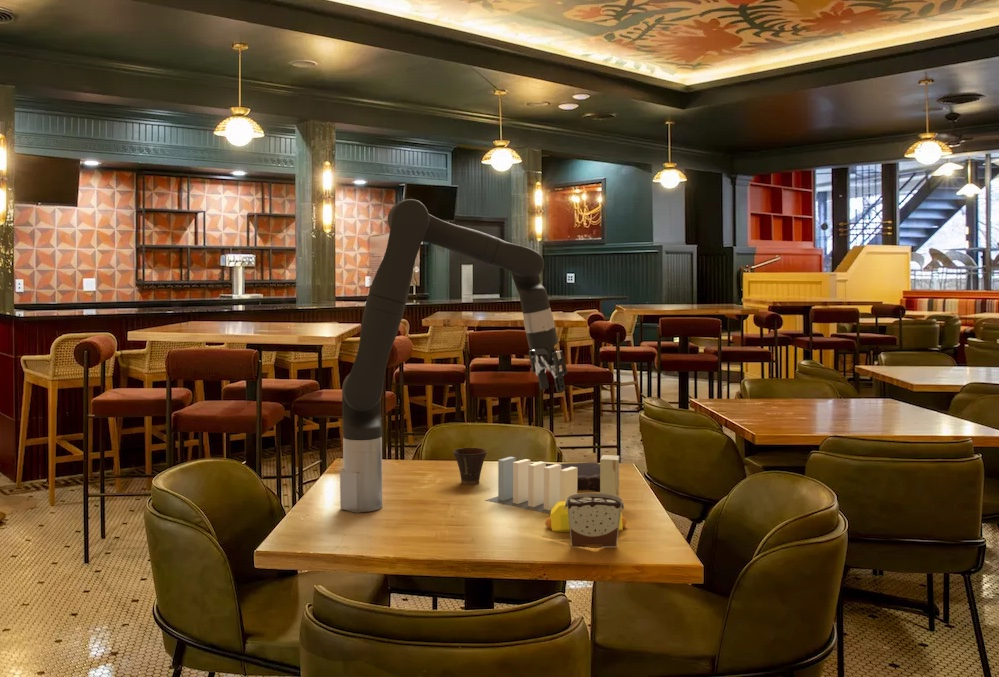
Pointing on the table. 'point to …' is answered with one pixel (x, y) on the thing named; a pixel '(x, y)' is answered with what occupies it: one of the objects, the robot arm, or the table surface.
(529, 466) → the domino
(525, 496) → the domino
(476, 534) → the table surface
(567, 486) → the domino
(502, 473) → the domino
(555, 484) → the domino
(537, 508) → the mat
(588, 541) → the food container
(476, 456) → the cup
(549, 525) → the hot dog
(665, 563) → the table surface
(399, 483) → the table surface
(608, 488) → the skincare box
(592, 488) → the diary
